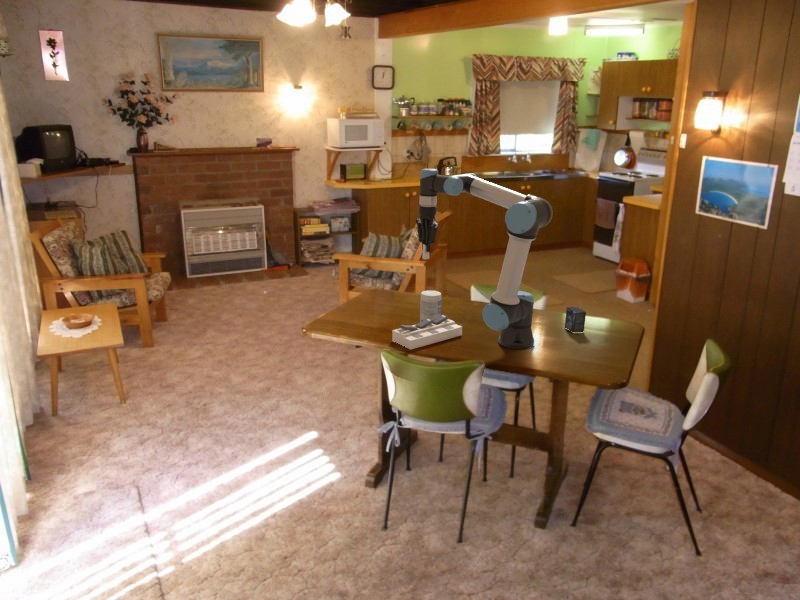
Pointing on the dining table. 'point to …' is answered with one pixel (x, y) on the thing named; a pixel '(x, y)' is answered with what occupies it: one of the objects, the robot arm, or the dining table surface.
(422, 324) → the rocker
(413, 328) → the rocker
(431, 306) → the supplement tub
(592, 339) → the dining table surface
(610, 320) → the dining table surface
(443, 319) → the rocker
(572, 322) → the box
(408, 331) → the power strip
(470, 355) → the dining table surface
